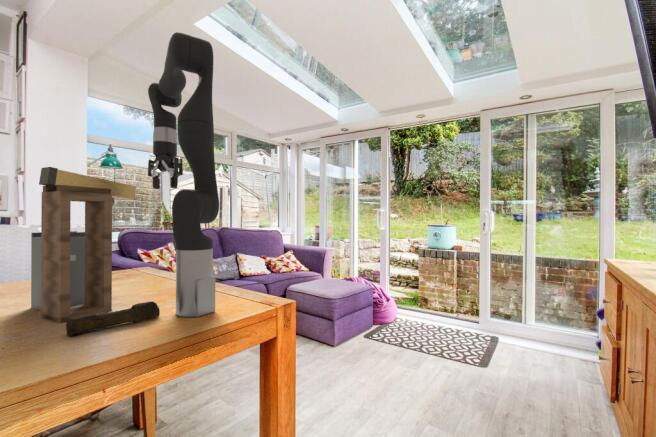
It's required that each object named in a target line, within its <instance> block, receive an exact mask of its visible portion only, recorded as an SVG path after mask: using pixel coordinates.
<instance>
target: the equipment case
mask: <svg viewBox="0 0 656 437" xmlns="http://www.w3.org/2000/svg"><path fill="white" fill-rule="evenodd" d="M30 235H31V238H30V239H31V241H30V242H31V243H30V244H31V247H30V248H31V250H30V251H31V255H30V256H31V259H30V260H31V261H30V262H31V268H30V270H31V271H30V272H31V273H30V274H31V275H30V277H31V279H30V280H31V283H30V284H31V285H30V286H31V287H30V288H31V289H30V290H31V291H30V293H31V294H30V300H31V301H30V304H31V305H30V309H33V310H37V311H41V232H31V234H30ZM83 304H85V231H81V232H79V231H76V230H75V231H70V307H73V306H78V305H83Z"/></svg>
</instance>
